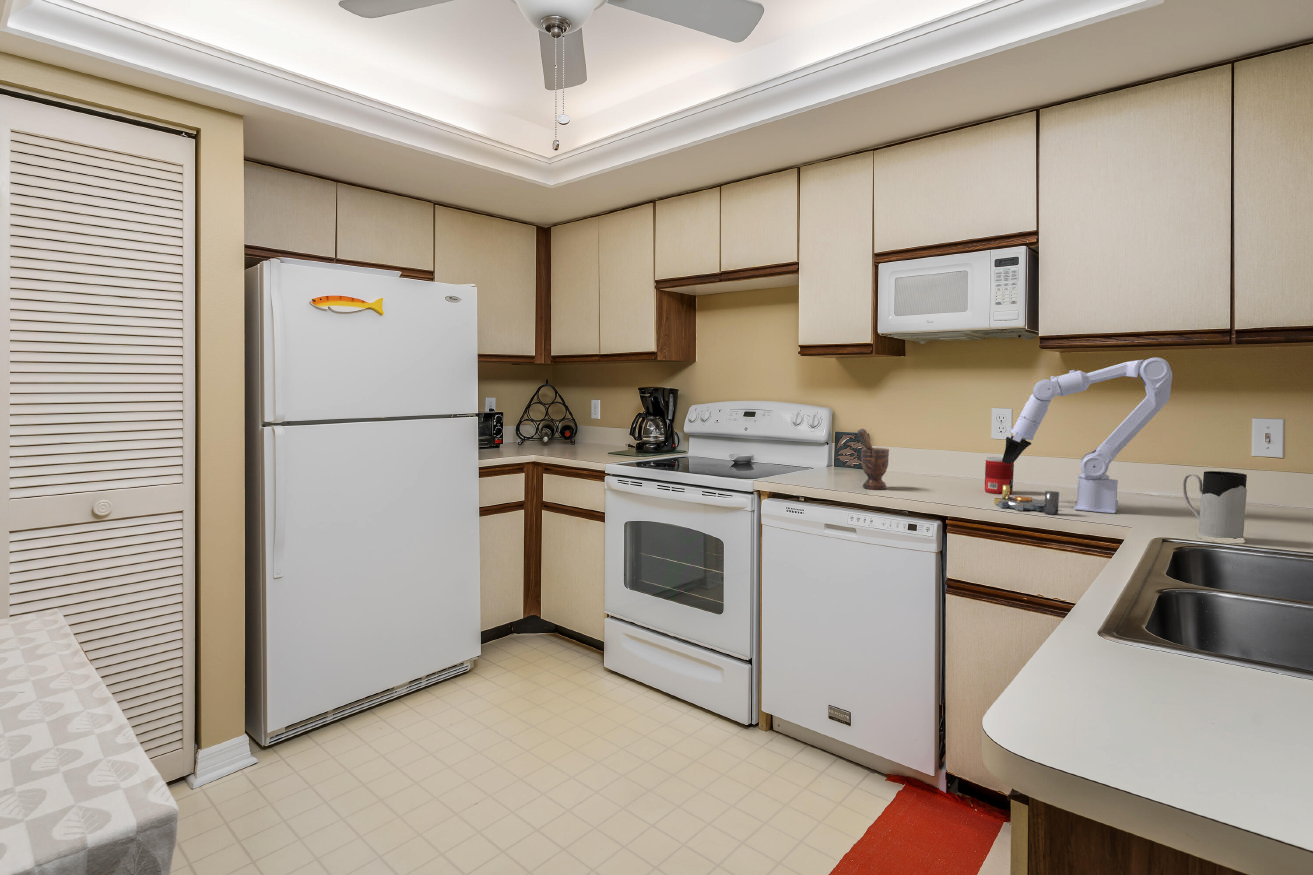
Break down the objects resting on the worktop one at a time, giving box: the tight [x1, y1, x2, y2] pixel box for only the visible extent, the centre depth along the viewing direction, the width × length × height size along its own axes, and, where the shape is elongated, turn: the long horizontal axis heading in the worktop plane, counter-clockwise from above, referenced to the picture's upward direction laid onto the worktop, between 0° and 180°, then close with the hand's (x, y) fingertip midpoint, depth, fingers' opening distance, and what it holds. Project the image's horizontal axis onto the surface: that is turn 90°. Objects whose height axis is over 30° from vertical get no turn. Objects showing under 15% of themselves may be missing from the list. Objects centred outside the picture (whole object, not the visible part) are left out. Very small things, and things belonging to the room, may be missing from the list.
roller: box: [1043, 490, 1060, 516], centre depth 183 cm, size 3×3×6 cm
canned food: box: [984, 456, 1015, 495], centre depth 217 cm, size 8×8×11 cm
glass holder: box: [1182, 470, 1248, 539], centre depth 157 cm, size 9×14×15 cm, turn 9°
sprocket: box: [993, 485, 1045, 512], centre depth 193 cm, size 15×15×6 cm
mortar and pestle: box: [857, 428, 890, 491], centre depth 224 cm, size 12×9×20 cm
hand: (1007, 462), depth 200 cm, fingers open, 7 cm apart
